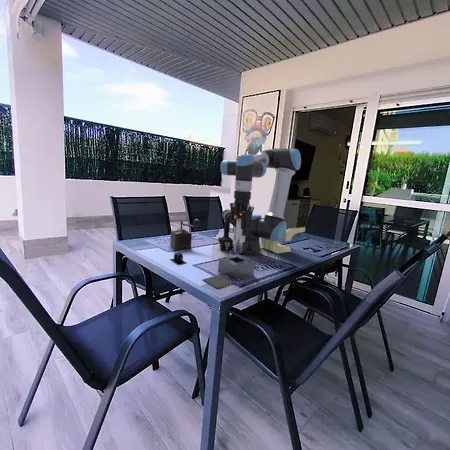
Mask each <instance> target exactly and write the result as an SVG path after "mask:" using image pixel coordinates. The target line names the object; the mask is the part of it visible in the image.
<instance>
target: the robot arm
mask: <svg viewBox="0 0 450 450" xmlns="http://www.w3.org/2000/svg"><path fill="white" fill-rule="evenodd" d="M300 152H301V151H300V150H299V149H298V148H269V149H265V150H261V151H258V152H256V154H253V155H252V154H238V155H237V157H236V158H234V159H224V160H222V161H221V163H220V172H221V174H222V175H223V176H233V177H234V176H235V181H234V182H235V183H234V191H233V199H234V202H230V203H229V208H230V210H231V212H230V225H232V226H233V227H232V233H233V234H232V235H233V237H232V240H233V242H235V234H236V221H237V219H235V218H234V215H241V218H242V228H241V229H240V241H239V242H240V243H242V242H243V244H242V252H241V253H239V255H240V254H241V255H245V256H258V255H260V254H261V253H262V247H261V243H260V239H261V238H264V239H268V240H272V241H279V242H280V241H281V240H283V239H282V238H283V237H284V235H285V232H286V229H287V226H288V224H287V222H286V221H285V217H284V212H285V207H286V203H287V198H288V194H289V190H290V185H291V180H292V178H293V176H294V175H295V174H296V171H298V170H300V169H301V164H302V156H301V153H300ZM267 168H268V169H274V170H275V173H276V176H275V181H274V184H273V185H274V186H273V189H272V194H271V198H270V203H269V207H268V211H267V212H266V214H264V217H263V216H262V215H261V214H253V212H254V209H255V207H254V206H252V205H250V200H251V199H252V198H251V197H252V192H251V191H252V187H253V185H252V184H253V178H256V179H258V178H262V177H264V176H265V175H266V173H267Z"/></svg>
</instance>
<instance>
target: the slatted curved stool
mask: <svg viewBox="0 0 450 450" xmlns="http://www.w3.org/2000/svg"><path fill="white" fill-rule="evenodd" d="M305 232H306V226H304V227H293V228H288V229H286V232H285V235H284V237H283V238H282V239H281V240H283V241H284V242H291V240H292V238H293V237H294V235H296V234H300V233H305ZM260 242H261V243H260V247H261V249H262V248H263V249H265V250H268V251H270V252H271V253H272V252H273V253H275V254H283V253H290V252H292V250H291V249H292V248H291V247H289V246H285V245H283V244H280V241H272V240H268V239H264V238H260Z"/></svg>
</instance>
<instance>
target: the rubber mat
mask: <svg viewBox="0 0 450 450" xmlns="http://www.w3.org/2000/svg"><path fill="white" fill-rule="evenodd" d="M202 281H203V282H205V283H206V284H208V285H210V286H211V285H212V287H213V286H214V287H213V288H215V287H216V288H215V289H217V288H219V289H221V288H220V287H222V288H225V287H228V286H227V285H229V286H231V285H230V284H232V285H234V284H233V283H235V284H236V281H234V280H232V279H230V278H228V277H227V276H225V275H223V274H218V275H217V274H216V275H215V276H214V275H213V276H211V277H210V276H209V277H207V278H202ZM224 286H225V287H224Z"/></svg>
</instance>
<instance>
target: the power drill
mask: <svg viewBox="0 0 450 450" xmlns="http://www.w3.org/2000/svg"><path fill="white" fill-rule="evenodd" d="M230 212H231V209H225V210H223V211H222V212H221V214H220V216H221V218H222V219H223V221H224V226H223V236H221V237H217V240H218V243H219V249H220V251H222V252H232V251H234V247H235V244H234V240H233V238H232V237H230V236H229V235H230V231H231V230H230V229H231V224H230Z"/></svg>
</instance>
